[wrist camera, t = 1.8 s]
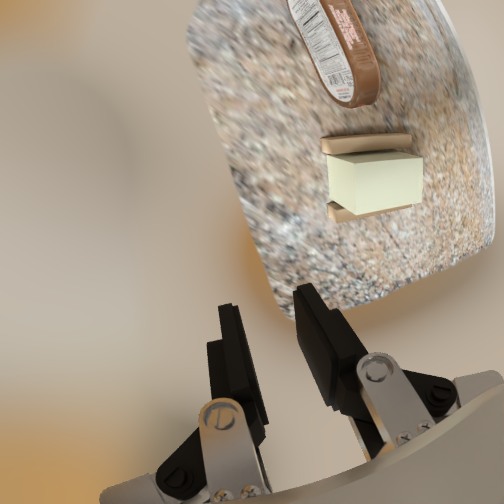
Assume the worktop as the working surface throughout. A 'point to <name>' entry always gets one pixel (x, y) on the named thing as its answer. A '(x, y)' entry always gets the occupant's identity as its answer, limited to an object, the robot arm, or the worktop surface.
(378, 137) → the chute
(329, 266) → the worktop surface
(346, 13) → the tin
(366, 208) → the block
